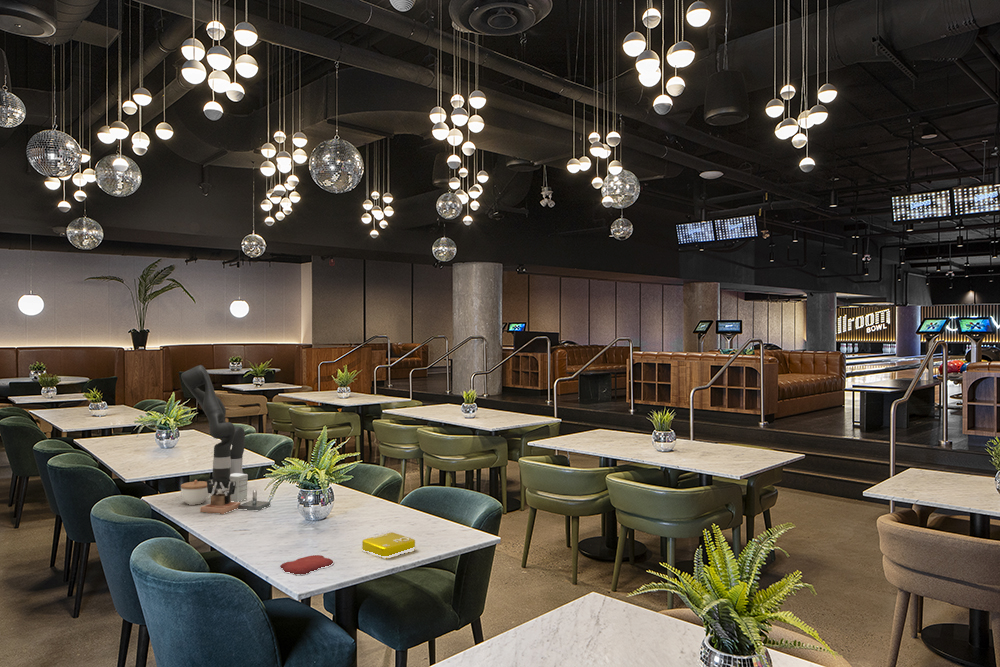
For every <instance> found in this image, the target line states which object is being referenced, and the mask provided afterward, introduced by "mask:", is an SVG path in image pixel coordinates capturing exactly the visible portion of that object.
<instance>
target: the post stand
mask: <svg viewBox="0 0 1000 667" xmlns="http://www.w3.org/2000/svg"><path fill="white" fill-rule="evenodd" d="M257 497H258V490H257V489H254V490H252V500H249V501H247V502H246V501H245V502H244V503H241V504H240V505H238V509H247V510H259V509H262V508H264V507H267V506H269V505H270V506H271V501H263V500H257V499H258V498H257ZM270 506H269V507H270ZM267 508H268V507H267ZM238 509H237V510H238ZM247 510H246V511H247ZM262 510H263V509H262Z"/></svg>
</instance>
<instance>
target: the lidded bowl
mask: <svg viewBox="0 0 1000 667" xmlns="http://www.w3.org/2000/svg"><path fill="white" fill-rule="evenodd" d="M180 493H181V499H182V501H184V503H185V504H186V505H188V504H189V505H190V506H196V505H195V504H198V505H201V503H202V504H204V502H206V500H207V499H208V497H209V495H210V493H208V489H207V481H203V480H199V481H198V479H194V481H189V482H184V483H182V484H180Z"/></svg>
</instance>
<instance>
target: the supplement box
mask: <svg viewBox="0 0 1000 667" xmlns="http://www.w3.org/2000/svg"><path fill="white" fill-rule="evenodd" d="M248 477H249V475H248V474H247V473H243V474H241V473H233V474H230V481H236V486H235V492H234V494H232V495H231V501H234V502H238V501H241V500H244V499H247V500H248V479H249V478H248ZM229 485H230V484H229ZM229 488H230V486H229ZM225 489H227V488H225ZM244 501H245V500H244ZM241 502H242V501H241Z"/></svg>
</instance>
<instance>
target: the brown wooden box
mask: <svg viewBox="0 0 1000 667" xmlns="http://www.w3.org/2000/svg"><path fill="white" fill-rule="evenodd" d="M210 503H211V504H210ZM210 503H209V504H210V505H216V506H223V505H226V504H225V493H223V492H219V493H217V494H216V495H213V496H212V495H210ZM229 503H231V495H230V502H229Z"/></svg>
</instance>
